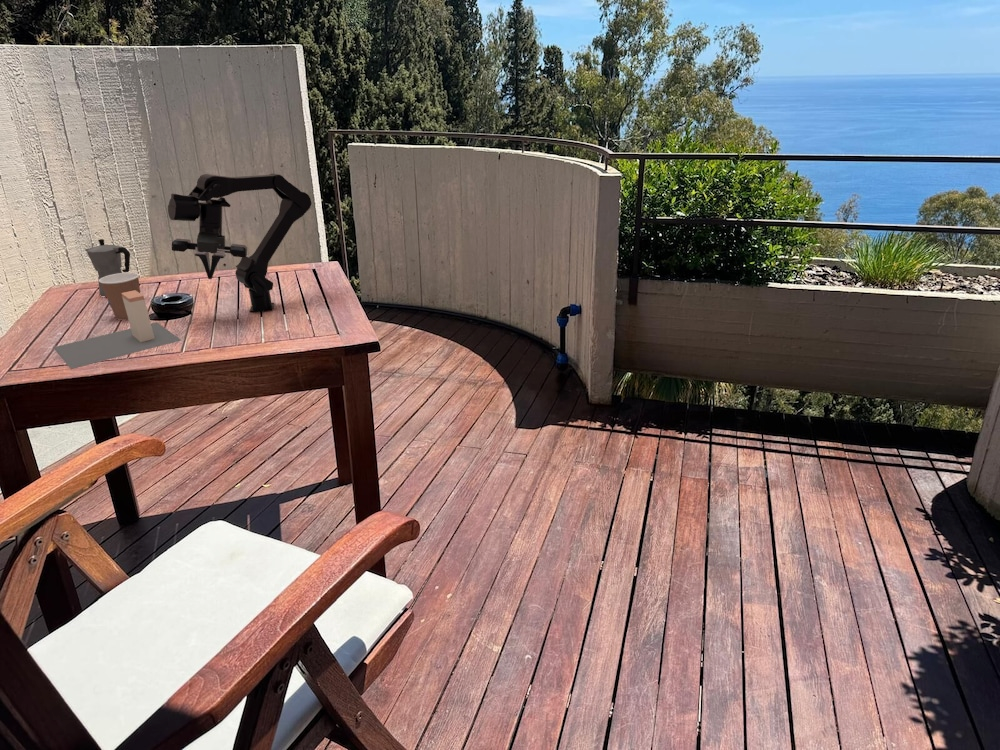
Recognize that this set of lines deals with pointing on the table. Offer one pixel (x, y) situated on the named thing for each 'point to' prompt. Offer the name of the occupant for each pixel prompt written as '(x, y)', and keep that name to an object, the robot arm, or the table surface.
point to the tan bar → (138, 315)
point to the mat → (111, 346)
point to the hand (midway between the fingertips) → (210, 278)
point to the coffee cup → (119, 291)
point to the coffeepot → (108, 260)
